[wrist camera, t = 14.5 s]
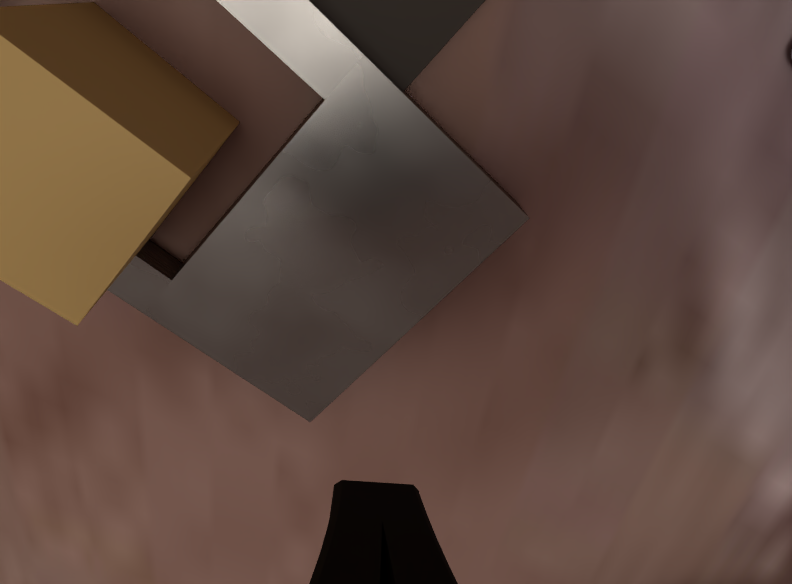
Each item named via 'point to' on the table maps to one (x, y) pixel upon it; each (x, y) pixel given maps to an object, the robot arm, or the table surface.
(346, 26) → the pad
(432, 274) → the gray rectangular frame
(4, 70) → the block
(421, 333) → the table surface
